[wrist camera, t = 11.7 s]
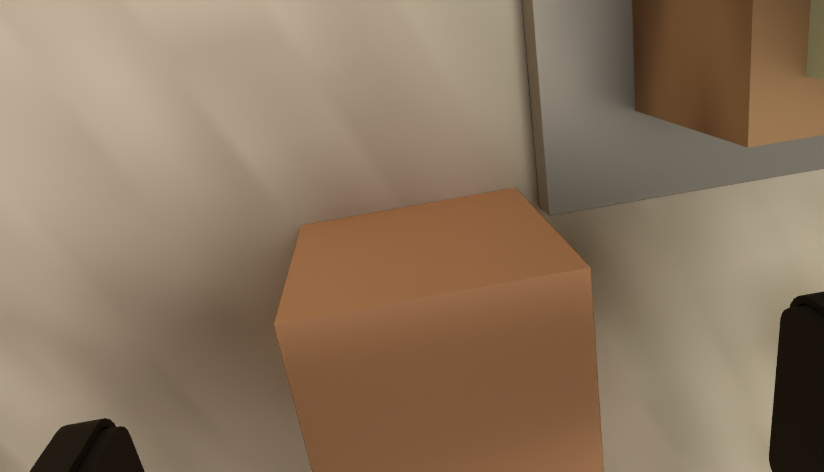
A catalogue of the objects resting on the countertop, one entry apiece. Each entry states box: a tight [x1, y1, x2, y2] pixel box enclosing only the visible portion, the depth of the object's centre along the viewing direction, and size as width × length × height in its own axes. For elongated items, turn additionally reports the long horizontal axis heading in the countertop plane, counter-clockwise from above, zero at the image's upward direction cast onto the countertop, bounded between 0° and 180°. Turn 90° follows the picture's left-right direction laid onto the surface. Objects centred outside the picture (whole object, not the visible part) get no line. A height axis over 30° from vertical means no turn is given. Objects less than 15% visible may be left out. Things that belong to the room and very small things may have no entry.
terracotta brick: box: [274, 188, 604, 472], centre depth 13 cm, size 5×5×5 cm
